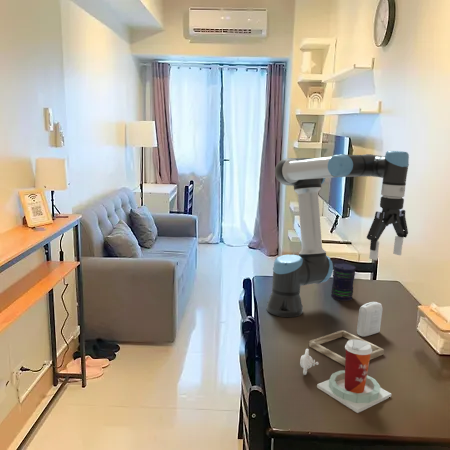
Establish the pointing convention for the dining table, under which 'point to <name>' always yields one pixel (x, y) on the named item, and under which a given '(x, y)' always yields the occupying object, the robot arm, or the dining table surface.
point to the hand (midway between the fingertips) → (385, 256)
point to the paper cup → (356, 365)
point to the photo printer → (369, 319)
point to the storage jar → (343, 281)
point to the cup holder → (354, 400)
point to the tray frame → (315, 343)
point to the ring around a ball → (307, 362)
